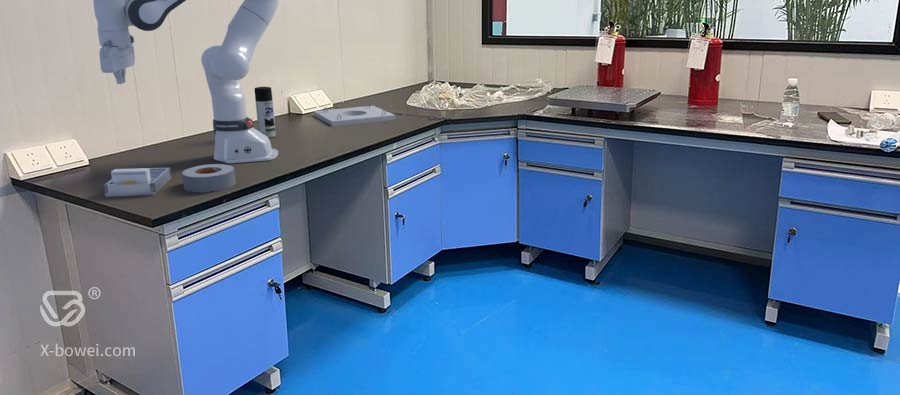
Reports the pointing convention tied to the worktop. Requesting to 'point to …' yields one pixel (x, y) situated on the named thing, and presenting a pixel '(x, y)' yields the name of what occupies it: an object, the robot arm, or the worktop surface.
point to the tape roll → (208, 178)
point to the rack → (139, 185)
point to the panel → (131, 175)
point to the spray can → (265, 111)
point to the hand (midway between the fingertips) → (121, 83)
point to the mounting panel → (354, 115)
